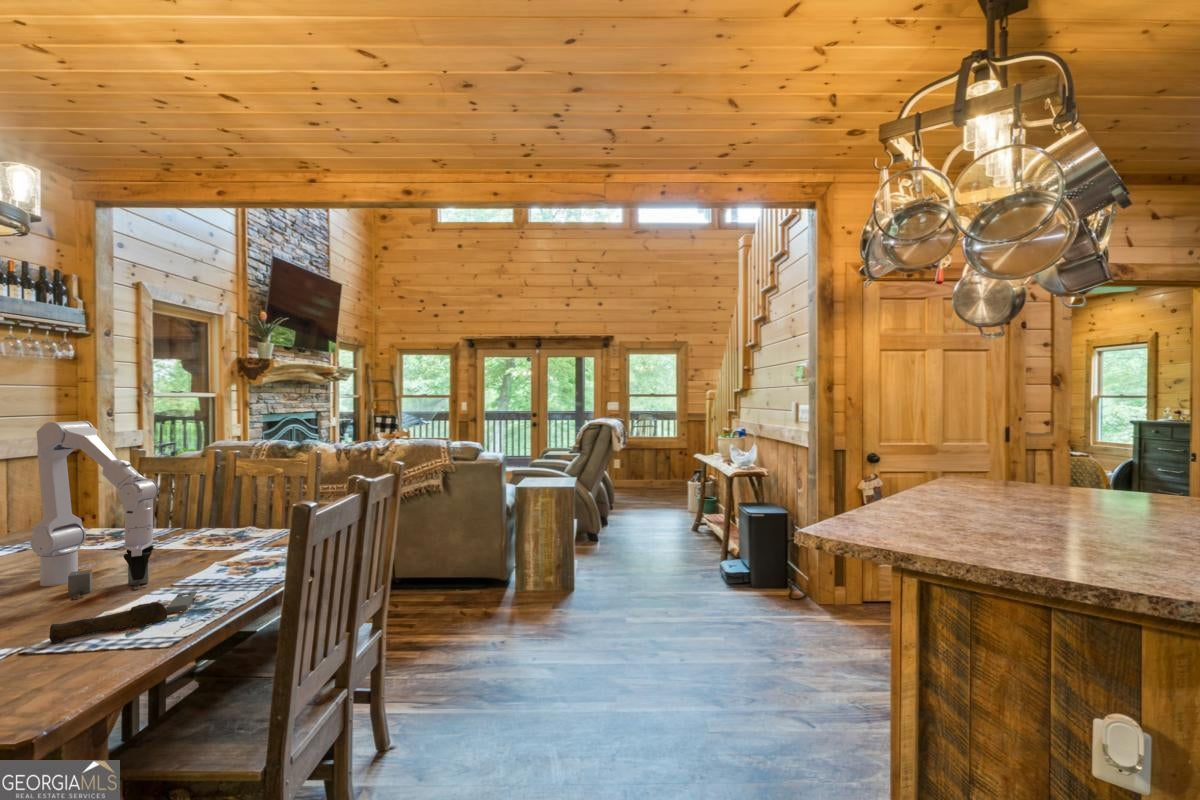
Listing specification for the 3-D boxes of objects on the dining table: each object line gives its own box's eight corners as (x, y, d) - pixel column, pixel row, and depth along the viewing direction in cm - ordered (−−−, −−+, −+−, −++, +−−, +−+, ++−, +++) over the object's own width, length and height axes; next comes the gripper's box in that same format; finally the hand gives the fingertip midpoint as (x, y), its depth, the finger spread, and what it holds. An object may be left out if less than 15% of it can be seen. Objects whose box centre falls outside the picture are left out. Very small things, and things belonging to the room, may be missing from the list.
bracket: (166, 615, 129) (166, 607, 129) (178, 600, 139) (178, 592, 139) (186, 613, 131) (186, 604, 131) (197, 598, 140) (197, 590, 140)
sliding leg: (129, 581, 147) (129, 562, 147) (149, 578, 150) (149, 560, 150) (126, 590, 140) (126, 571, 140) (146, 587, 143) (146, 568, 143)
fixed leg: (71, 591, 141) (71, 572, 141) (92, 588, 143) (92, 569, 143) (64, 601, 134) (64, 581, 134) (86, 598, 136) (86, 578, 136)
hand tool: (47, 647, 112) (47, 624, 112) (51, 640, 115) (51, 618, 115) (166, 624, 124) (166, 604, 124) (166, 619, 127) (166, 598, 127)
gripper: (156, 529, 143) (156, 581, 143) (159, 519, 155) (160, 567, 155) (120, 533, 139) (120, 587, 139) (127, 522, 151) (127, 572, 151)
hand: (139, 577), depth 147 cm, fingers closed on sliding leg, 4 cm apart
